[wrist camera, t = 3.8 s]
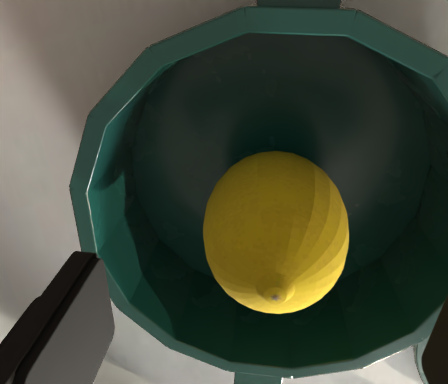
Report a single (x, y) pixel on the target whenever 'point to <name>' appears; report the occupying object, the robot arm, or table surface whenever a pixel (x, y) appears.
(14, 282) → the table surface
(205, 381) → the table surface
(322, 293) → the lemon
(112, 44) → the table surface
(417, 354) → the lid
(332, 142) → the pot
